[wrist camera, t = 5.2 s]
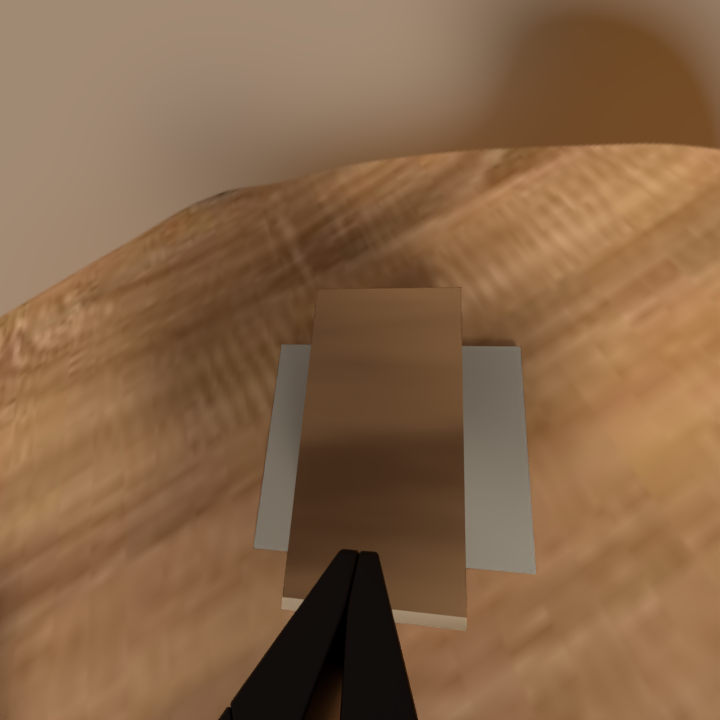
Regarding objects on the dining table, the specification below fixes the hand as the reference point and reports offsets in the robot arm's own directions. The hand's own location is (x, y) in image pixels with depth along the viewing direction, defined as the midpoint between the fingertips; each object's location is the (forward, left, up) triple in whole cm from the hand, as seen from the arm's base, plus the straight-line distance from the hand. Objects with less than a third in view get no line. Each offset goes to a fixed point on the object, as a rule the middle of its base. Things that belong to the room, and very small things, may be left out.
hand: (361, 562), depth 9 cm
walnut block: (-2, 0, -5) cm, 6 cm away
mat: (+4, 0, -8) cm, 9 cm away
